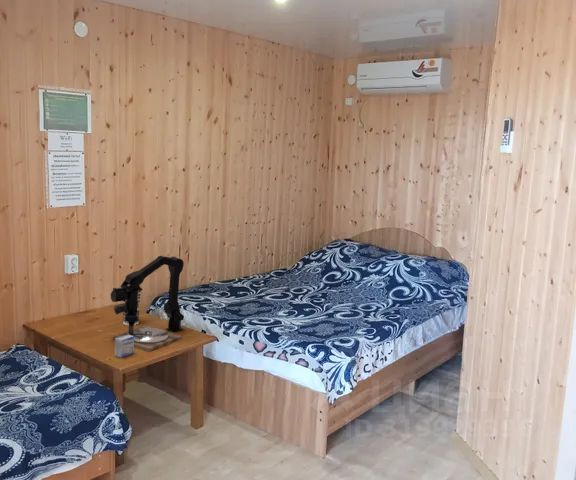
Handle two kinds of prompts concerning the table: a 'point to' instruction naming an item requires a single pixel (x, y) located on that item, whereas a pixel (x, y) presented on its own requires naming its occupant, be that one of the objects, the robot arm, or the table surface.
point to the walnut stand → (153, 346)
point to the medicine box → (124, 346)
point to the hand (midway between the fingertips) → (130, 328)
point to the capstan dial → (147, 334)
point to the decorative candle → (137, 313)
